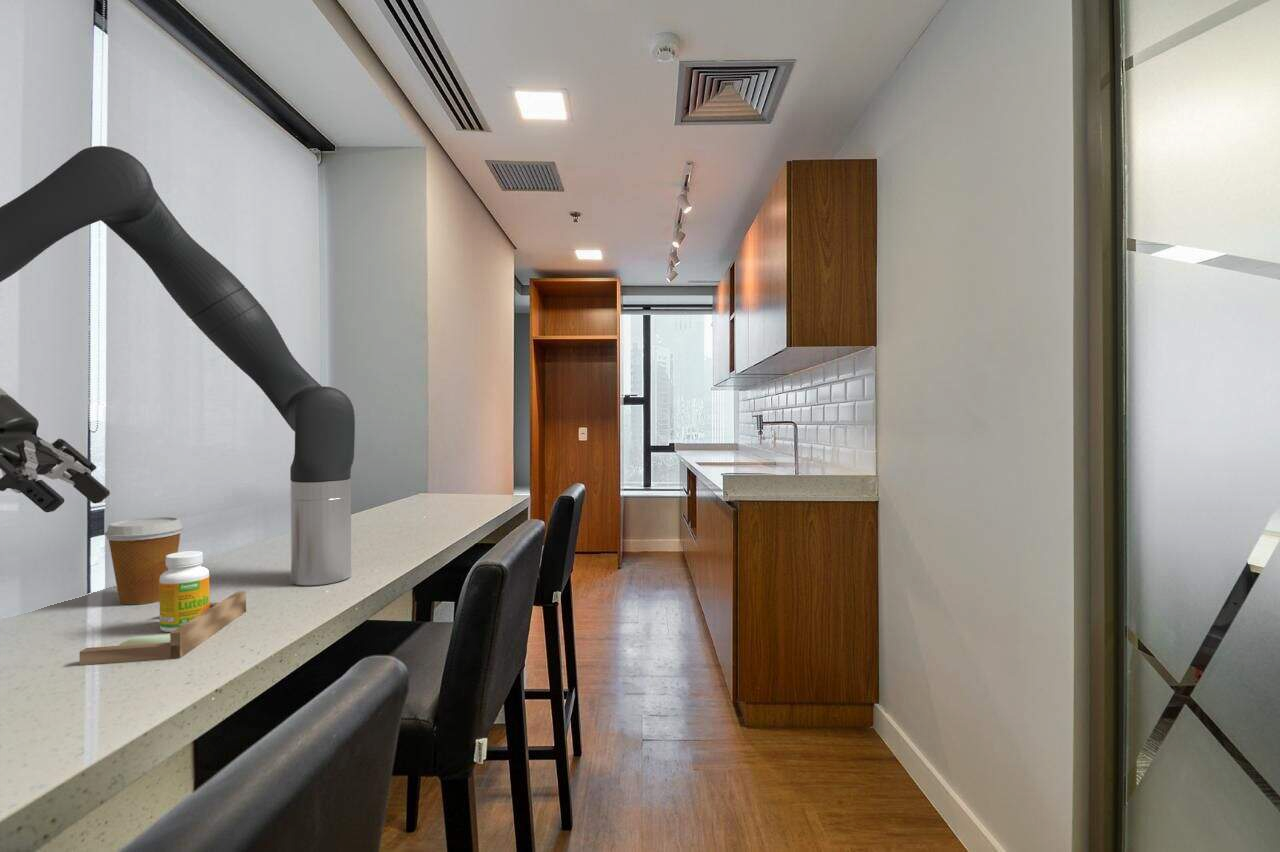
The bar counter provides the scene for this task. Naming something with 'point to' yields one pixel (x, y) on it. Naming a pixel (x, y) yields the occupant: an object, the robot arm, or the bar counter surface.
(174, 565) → the supplement bottle
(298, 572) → the robot arm
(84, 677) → the bar counter surface
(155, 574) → the disposable coffee cup
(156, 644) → the bay
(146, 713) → the bar counter surface
